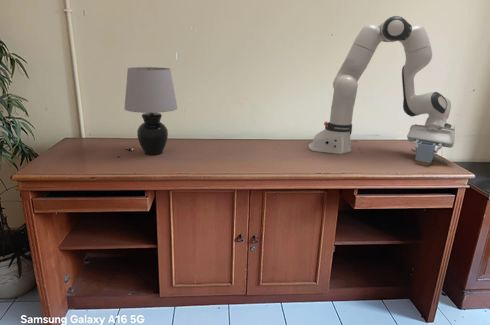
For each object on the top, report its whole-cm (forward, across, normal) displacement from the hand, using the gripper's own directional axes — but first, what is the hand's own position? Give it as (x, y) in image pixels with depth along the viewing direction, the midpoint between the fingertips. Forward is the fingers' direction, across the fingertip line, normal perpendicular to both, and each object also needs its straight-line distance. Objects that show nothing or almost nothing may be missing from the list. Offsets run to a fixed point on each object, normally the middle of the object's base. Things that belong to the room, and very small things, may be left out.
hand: (426, 150), depth 168 cm
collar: (+4, 0, +2) cm, 4 cm away
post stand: (+5, 0, +4) cm, 6 cm away
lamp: (+58, -106, -48) cm, 130 cm away
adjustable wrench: (-6, -2, +16) cm, 17 cm away
